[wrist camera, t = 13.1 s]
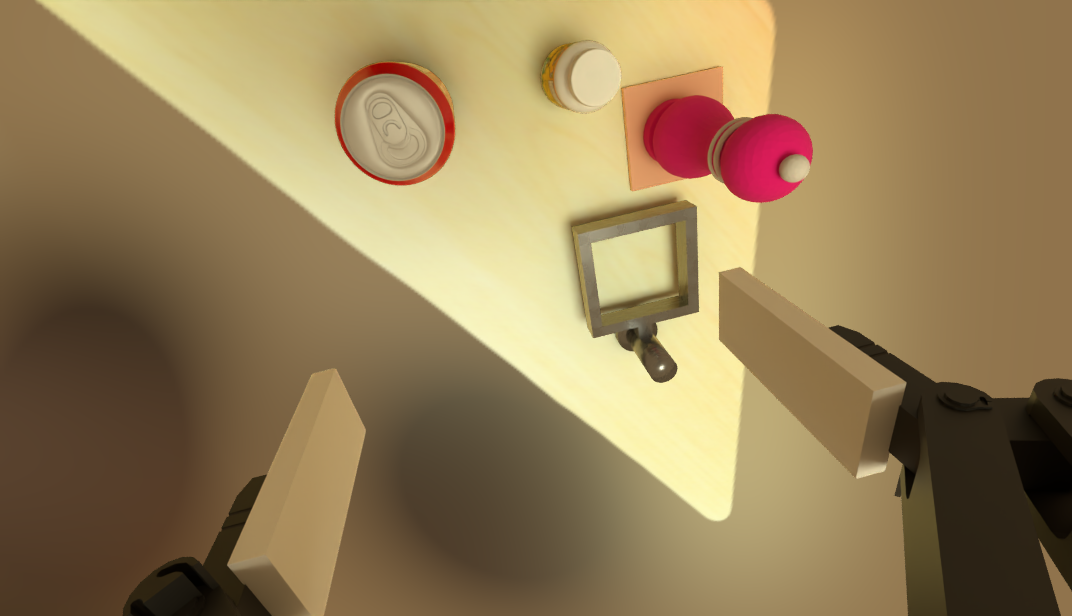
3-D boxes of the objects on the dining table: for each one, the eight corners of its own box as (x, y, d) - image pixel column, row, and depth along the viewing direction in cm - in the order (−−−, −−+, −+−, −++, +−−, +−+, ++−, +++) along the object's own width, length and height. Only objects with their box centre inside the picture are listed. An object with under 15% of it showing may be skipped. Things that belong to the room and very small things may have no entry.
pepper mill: (712, 93, 46) (872, 110, 29) (699, 168, 50) (835, 225, 32) (642, 92, 45) (765, 108, 28) (633, 169, 49) (738, 227, 31)
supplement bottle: (556, 118, 46) (581, 130, 37) (529, 64, 43) (548, 64, 35) (605, 87, 45) (640, 92, 37) (579, 31, 43) (612, 22, 34)
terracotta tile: (621, 88, 45) (623, 88, 45) (719, 66, 46) (722, 66, 45) (630, 189, 50) (632, 191, 50) (719, 169, 51) (722, 170, 50)
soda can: (426, 46, 41) (415, 37, 28) (468, 132, 45) (476, 160, 32) (347, 87, 42) (300, 97, 28) (395, 169, 45) (374, 211, 32)
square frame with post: (567, 221, 51) (589, 250, 43) (677, 195, 51) (719, 219, 43) (589, 358, 59) (611, 403, 51) (683, 334, 60) (718, 375, 52)
